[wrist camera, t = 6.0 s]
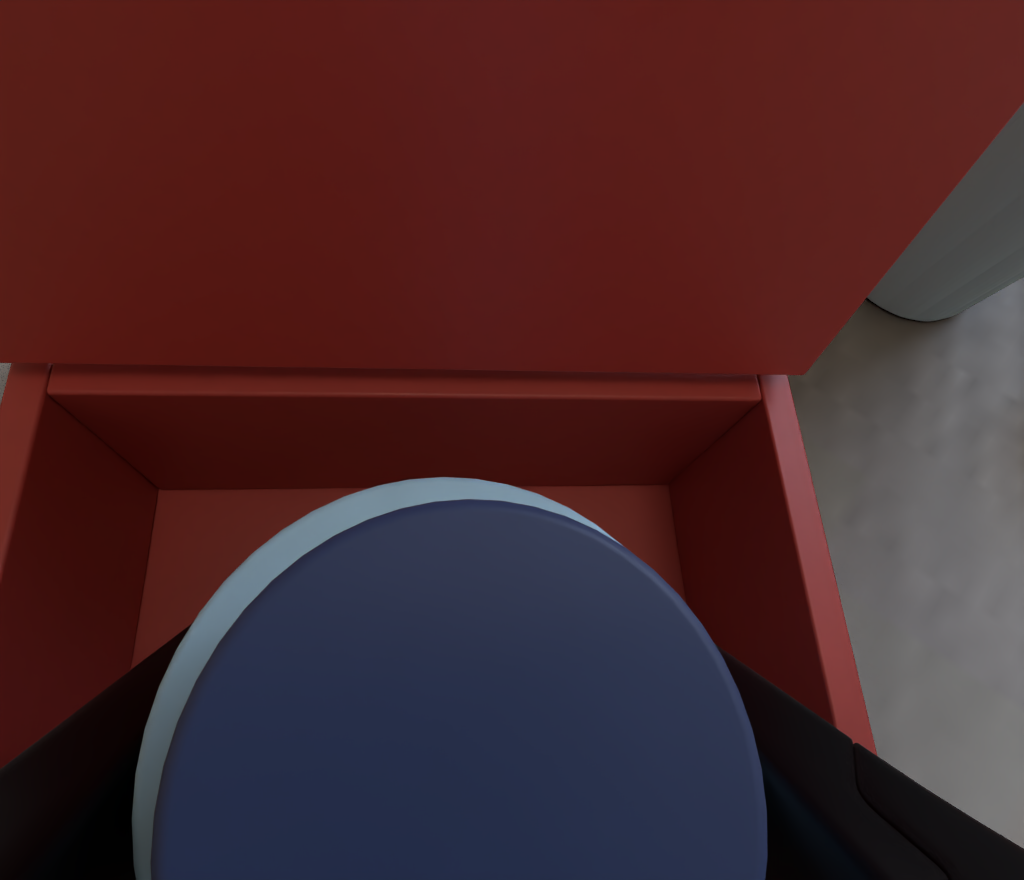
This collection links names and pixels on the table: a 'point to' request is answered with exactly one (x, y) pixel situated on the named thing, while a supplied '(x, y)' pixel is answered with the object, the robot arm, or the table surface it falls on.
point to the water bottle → (447, 708)
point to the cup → (965, 239)
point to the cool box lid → (477, 176)
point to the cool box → (381, 460)
